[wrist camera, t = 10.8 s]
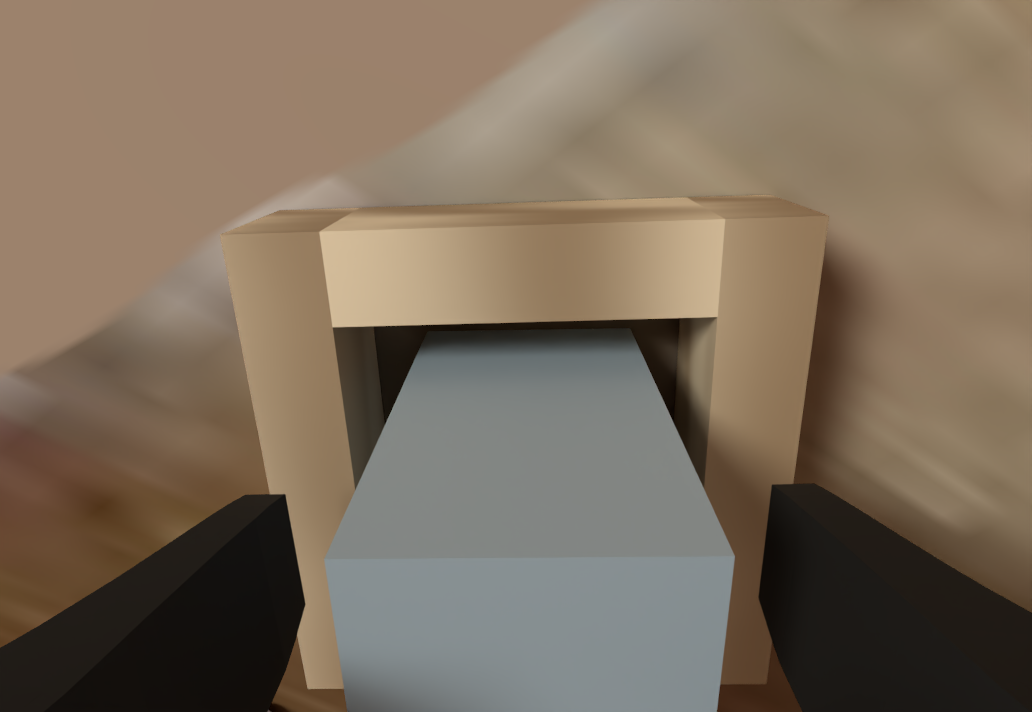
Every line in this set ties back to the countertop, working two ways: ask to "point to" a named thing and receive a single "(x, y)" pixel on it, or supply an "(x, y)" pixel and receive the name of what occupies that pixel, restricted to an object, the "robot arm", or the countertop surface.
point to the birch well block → (530, 298)
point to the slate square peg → (530, 538)
